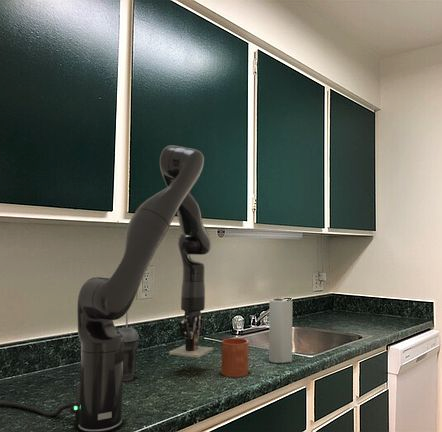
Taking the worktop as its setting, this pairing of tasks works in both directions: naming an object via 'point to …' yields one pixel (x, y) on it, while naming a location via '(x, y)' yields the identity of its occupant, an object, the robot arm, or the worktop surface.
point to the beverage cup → (129, 350)
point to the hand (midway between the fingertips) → (191, 349)
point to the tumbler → (234, 357)
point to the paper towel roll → (280, 331)
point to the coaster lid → (196, 351)
